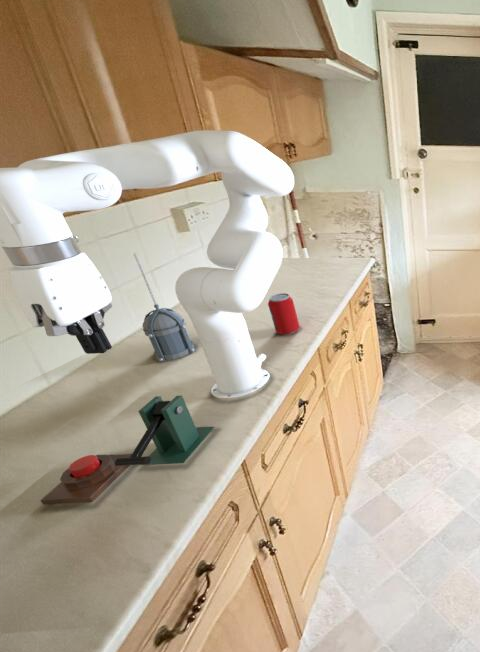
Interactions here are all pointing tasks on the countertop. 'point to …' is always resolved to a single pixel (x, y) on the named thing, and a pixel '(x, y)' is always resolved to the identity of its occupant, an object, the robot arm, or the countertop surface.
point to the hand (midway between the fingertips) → (99, 350)
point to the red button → (84, 466)
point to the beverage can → (283, 313)
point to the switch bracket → (173, 432)
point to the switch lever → (145, 439)
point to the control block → (86, 482)
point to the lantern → (166, 332)
